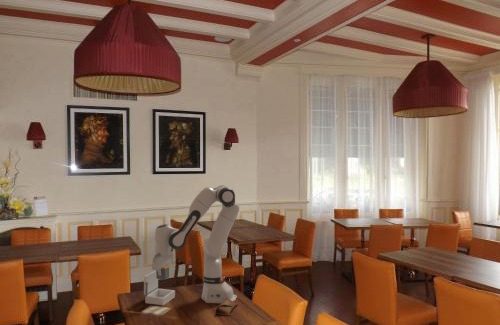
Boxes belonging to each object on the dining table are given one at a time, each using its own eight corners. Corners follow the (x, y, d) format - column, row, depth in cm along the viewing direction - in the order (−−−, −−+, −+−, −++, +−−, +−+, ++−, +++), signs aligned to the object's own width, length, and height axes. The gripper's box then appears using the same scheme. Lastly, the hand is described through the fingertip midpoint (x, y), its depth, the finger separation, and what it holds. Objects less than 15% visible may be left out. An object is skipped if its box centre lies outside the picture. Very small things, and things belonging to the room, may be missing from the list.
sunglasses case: (229, 315, 219) (224, 304, 219) (219, 320, 220) (214, 309, 221) (238, 303, 236) (233, 293, 237) (228, 308, 238) (223, 298, 238)
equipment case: (174, 298, 245) (175, 271, 245) (163, 307, 231) (163, 278, 231) (156, 296, 249) (156, 269, 249) (143, 304, 234) (144, 276, 234)
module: (169, 277, 241) (169, 265, 241) (165, 279, 236) (165, 268, 236) (160, 276, 243) (160, 265, 243) (156, 278, 238) (156, 267, 238)
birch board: (171, 309, 227) (171, 308, 227) (163, 316, 217) (163, 314, 217) (150, 307, 231) (150, 305, 231) (141, 313, 221) (141, 311, 221)
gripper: (158, 255, 229) (159, 279, 229) (174, 247, 248) (175, 269, 248) (149, 255, 230) (149, 278, 230) (165, 247, 250) (166, 268, 250)
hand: (162, 273), depth 240 cm, fingers closed on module, 5 cm apart
